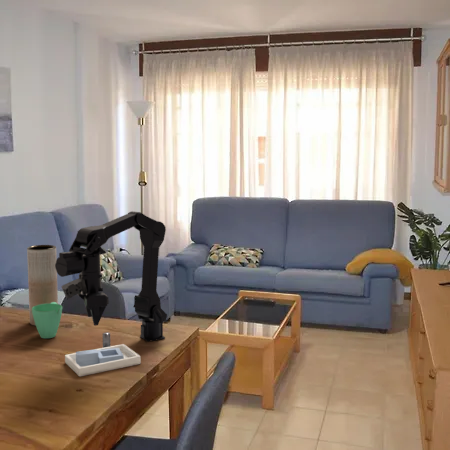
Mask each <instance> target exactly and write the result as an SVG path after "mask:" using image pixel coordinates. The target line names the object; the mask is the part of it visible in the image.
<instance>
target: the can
mask: <svg viewBox="0 0 450 450" xmlns="http://www.w3.org/2000/svg"><path fill="white" fill-rule="evenodd" d="M110 346H111V332H109V331H107V332H103V333H102V348H105V347H110Z"/></svg>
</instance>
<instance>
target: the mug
mask: <svg viewBox="0 0 450 450" xmlns="http://www.w3.org/2000/svg"><path fill="white" fill-rule="evenodd" d="M62 313H63V305H61V304H59V303H58V304H57V303H56V302H52V303H50V304H40V305H36V306H34V307H32V314H33V318H34V322H35V325H36V326H35V328H36V330H37V332H38V334H39V337H40V338H41V339H51V338H55V337H56V335H57V333H58V330H59V325H60V324H61V319H62Z"/></svg>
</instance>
